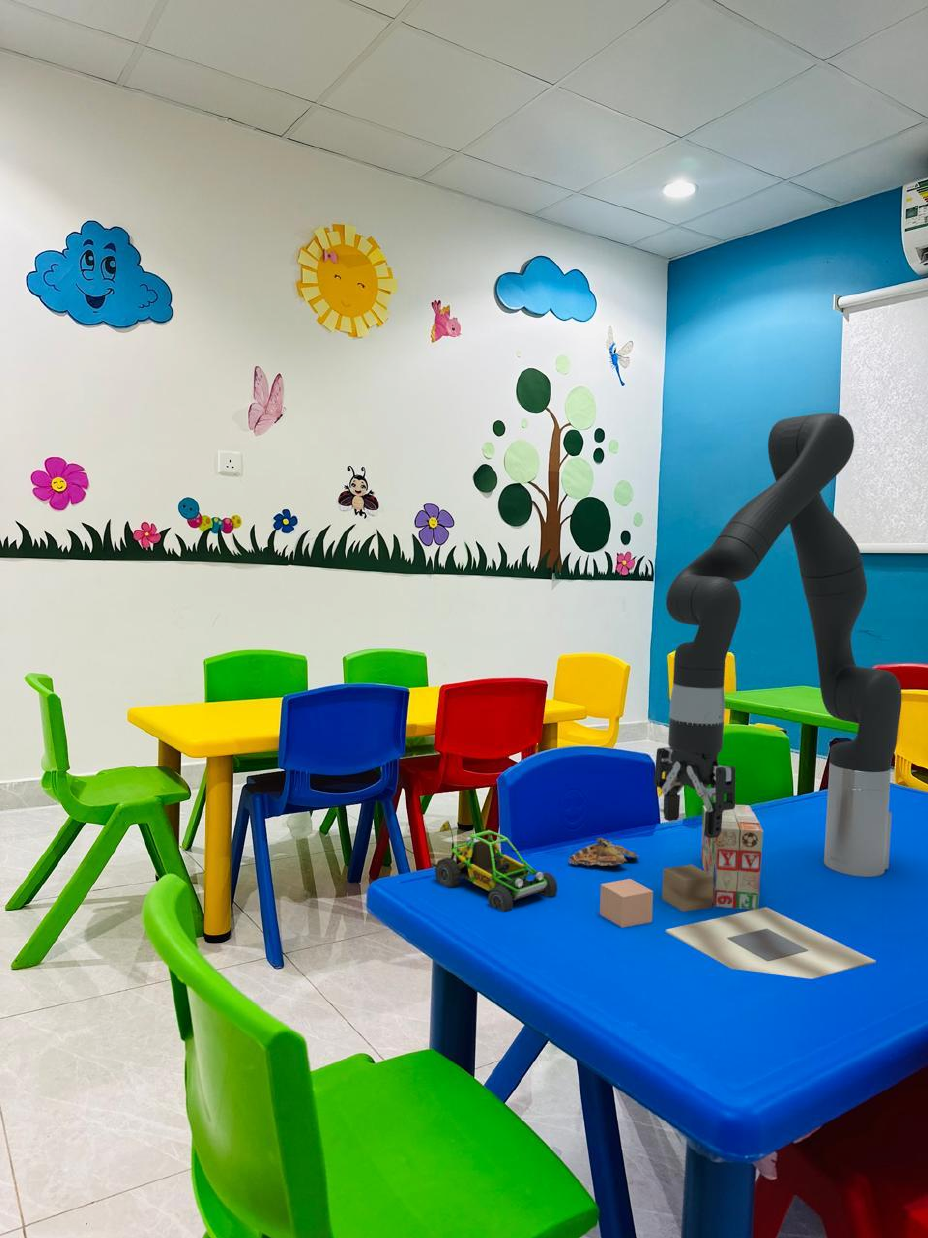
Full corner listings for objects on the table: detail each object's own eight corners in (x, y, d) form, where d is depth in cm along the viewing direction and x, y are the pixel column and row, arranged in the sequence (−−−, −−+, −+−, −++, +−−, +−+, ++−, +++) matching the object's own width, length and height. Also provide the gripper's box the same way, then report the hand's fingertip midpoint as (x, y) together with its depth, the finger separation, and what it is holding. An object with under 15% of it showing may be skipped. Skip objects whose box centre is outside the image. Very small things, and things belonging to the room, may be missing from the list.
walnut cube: (690, 897, 133) (691, 864, 132) (711, 910, 128) (713, 876, 128) (662, 902, 131) (663, 868, 131) (682, 915, 126) (684, 880, 126)
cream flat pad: (765, 914, 127) (766, 906, 127) (875, 968, 111) (875, 960, 111) (665, 937, 119) (665, 929, 119) (768, 999, 103) (768, 990, 103)
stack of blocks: (699, 859, 149) (703, 786, 148) (738, 862, 148) (742, 789, 147) (713, 910, 128) (717, 826, 127) (759, 914, 127) (763, 829, 126)
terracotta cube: (629, 913, 127) (630, 878, 126) (651, 927, 122) (653, 891, 122) (599, 919, 124) (601, 884, 124) (621, 933, 120) (623, 897, 120)
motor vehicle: (506, 920, 124) (507, 851, 123) (425, 882, 137) (426, 820, 136) (558, 901, 131) (560, 836, 130) (477, 867, 144) (478, 808, 143)
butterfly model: (567, 862, 145) (567, 844, 145) (601, 843, 155) (601, 826, 155) (616, 874, 140) (616, 854, 140) (647, 854, 150) (648, 836, 150)
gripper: (753, 724, 123) (746, 840, 124) (683, 706, 135) (678, 812, 137) (711, 727, 119) (705, 847, 121) (643, 709, 132) (638, 817, 133)
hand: (690, 828), depth 129 cm, fingers open, 8 cm apart
